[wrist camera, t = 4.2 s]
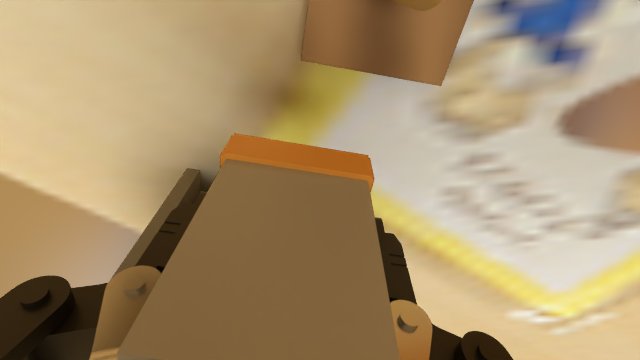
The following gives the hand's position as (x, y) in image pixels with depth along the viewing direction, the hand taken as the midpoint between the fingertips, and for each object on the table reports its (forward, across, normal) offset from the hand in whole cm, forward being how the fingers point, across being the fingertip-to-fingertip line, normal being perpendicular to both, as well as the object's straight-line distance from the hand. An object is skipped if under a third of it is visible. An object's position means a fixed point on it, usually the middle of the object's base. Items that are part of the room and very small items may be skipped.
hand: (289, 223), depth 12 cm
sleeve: (+2, 0, 0) cm, 2 cm away
